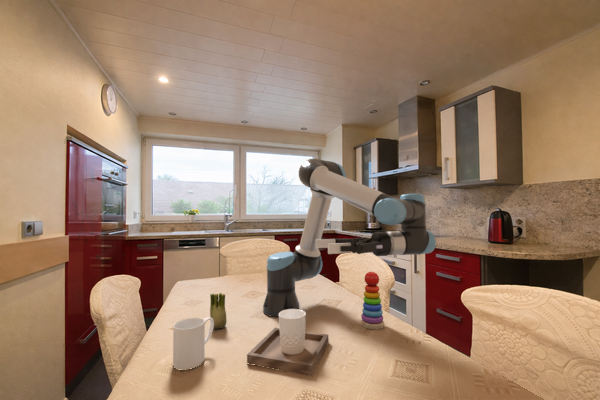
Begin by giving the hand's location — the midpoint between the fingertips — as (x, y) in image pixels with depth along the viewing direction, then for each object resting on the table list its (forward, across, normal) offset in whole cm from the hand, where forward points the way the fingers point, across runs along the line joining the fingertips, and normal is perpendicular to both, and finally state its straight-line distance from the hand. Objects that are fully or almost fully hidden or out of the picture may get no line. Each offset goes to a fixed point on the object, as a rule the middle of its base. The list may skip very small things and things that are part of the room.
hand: (321, 246), depth 80 cm
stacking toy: (-21, +12, -30) cm, 39 cm away
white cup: (+9, 0, -29) cm, 31 cm away
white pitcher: (+36, +2, -30) cm, 47 cm away
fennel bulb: (+32, +23, -30) cm, 50 cm away
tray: (+10, 0, -30) cm, 32 cm away
